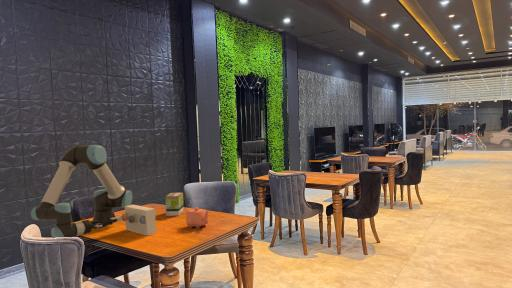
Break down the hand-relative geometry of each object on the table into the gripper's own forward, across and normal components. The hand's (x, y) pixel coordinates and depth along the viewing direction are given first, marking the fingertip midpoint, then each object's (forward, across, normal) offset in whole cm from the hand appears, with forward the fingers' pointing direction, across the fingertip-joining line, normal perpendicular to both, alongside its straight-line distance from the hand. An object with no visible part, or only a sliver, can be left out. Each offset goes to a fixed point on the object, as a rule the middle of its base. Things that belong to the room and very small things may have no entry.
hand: (120, 218), depth 222 cm
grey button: (+3, +8, -2) cm, 9 cm away
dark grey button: (+5, +16, -2) cm, 17 cm away
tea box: (+50, -12, -9) cm, 53 cm away
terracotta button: (+3, 0, -2) cm, 3 cm away
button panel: (+8, +8, -9) cm, 14 cm away
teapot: (+35, +31, -9) cm, 48 cm away
